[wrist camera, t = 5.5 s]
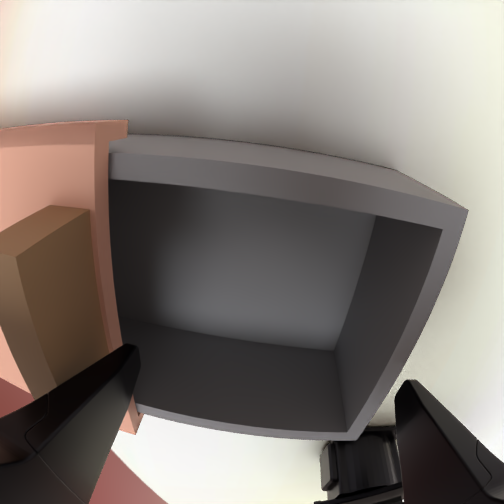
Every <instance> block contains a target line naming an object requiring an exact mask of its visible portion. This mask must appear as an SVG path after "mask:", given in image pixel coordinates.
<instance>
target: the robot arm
mask: <svg viewBox="0 0 504 504" xmlns="http://www.w3.org/2000/svg"><path fill="white" fill-rule="evenodd" d="M140 369H141V359H140V352H139V347H138V346H137V345H134V344H130V343H125V344H123V345H122V346H120V347H119V348H117V349H116V350H114V351H112V352H111V353H109V354H108V355H106V356H105V357H103V358H101V359H100V360H98V361H97V362H95V363H94V364H92V365H90V366H89V367H87V368H86V369H84V370H82V371H81V372H79V373H78V374H76V375H75V376H73V377H71V378H70V379H68V380H67V381H65V382H63V383H62V384H60V385H59V386H57V387H56V388H54V389H52V390H51V391H49V392H48V393H46V394H44V395H43V396H41V397H39V398H38V399H36V400H34V401H33V402H31V403H29V404H28V405H26V406H24V407H22V408H20V409H18V410H16V411H14V412H12V413H10V414H7V415H5V416H3V417H1V418H0V504H89V501H90V498H91V496H92V493H93V491H94V488H95V486H96V483H97V481H98V478H99V476H100V473H101V471H102V469H103V466H104V464H105V461H106V459H107V456H108V454H109V452H110V449H111V447H112V445H113V442H114V440H115V438H116V435H117V433H118V431H119V428H120V426H121V424H122V421H123V419H124V417H125V415H126V412H127V410H128V407H129V404H130V401H131V398H132V395H133V391H134V388H135V385H136V382H137V378H138V375H139V372H140ZM394 402H395V418H396V426H394V427H370V428H365V429H364V430H363V432H362V433H361V435H360V436H359V437H358V439H357V440H352V441H333V440H331V442H330V443H329V444H328V445H327V446H326V447H325V449H324V451H323V452H322V454H321V455H320V467H321V488H322V490H323V491H327V497H328V500H326V501H316V502H314V504H504V463H503V462H502V461H501V460H499V459H498V458H497V457H496V456H495V455H494V454H492V453H491V452H490V451H489V450H488V449H487V448H486V447H485V446H484V445H483V444H482V443H481V442H480V441H479V440H477V438H476V437H475V436H474V435H473V434H472V433H471V432H470V431H469V430H468V429H467V428H466V427H465V426H464V425H463V424H462V423H461V422H460V421H459V420H458V419H457V418H456V417H455V416H454V415H452V414H451V413H450V412H449V411H448V410H447V409H446V408H445V407H444V406H443V405H442V404H441V403H440V402H439V401H438V400H437V399H436V398H435V397H434V396H433V395H432V394H431V393H430V392H429V391H428V390H427V389H426V388H425V387H424V386H423V385H422V384H420V383H419V382H418V381H417V380H405V381H404V382H403V384H402V386H401V387H400V389H399V390H398V392H397V394H396V396H395V400H394ZM396 439H397V445H398V450H397V445H396V441H395V440H396ZM398 452H399V454H398ZM403 499H404V502H402V500H403Z"/></svg>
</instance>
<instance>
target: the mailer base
mask: <svg viewBox="0 0 504 504" xmlns="http://www.w3.org/2000/svg"><path fill="white" fill-rule="evenodd" d="M108 204H109V230H110V246H111V259H112V270H113V280H114V289H115V297H116V305H117V312H118V319H119V326H120V332H121V338H122V344H125V343H130V344H134V345H137V346H138V347H139V352H140V359H141V369H140V372H139V375H138V378H137V382H136V385H135V388H134V391H133V397H134V401H135V405H136V409H137V412H140V413H143V414H147V415H151V416H154V417H158V418H162V419H166V420H171V421H175V422H179V423H184V424H189V425H193V426H198V427H204V428H209V429H215V430H221V431H227V432H233V433H240V434H248V435H256V436H265V437H275V438H287V439H303V440H333V441H352V440H357V439H358V437H359V436H360V435H361V433H362V432H363V430H364V429H365V428H366V426H367V425H368V423H369V422H370V420H371V419H372V417H373V416H374V414H375V413H376V411H377V410H378V408H379V407H380V405H381V404H382V402H383V400H384V399H385V397H386V396H387V394H388V392H389V391H390V389H391V387H392V386H393V384H394V382H395V381H396V379H397V377H398V376H399V374H400V372H401V370H402V369H403V367H404V365H405V363H406V361H407V360H408V358H409V356H410V354H411V352H412V350H413V348H414V346H415V344H416V343H417V341H418V339H419V337H420V335H421V333H422V331H423V328H424V326H425V324H426V322H427V320H428V318H429V316H430V314H431V311H432V309H433V307H434V305H435V302H436V300H437V298H438V295H439V293H440V291H441V288H442V286H443V283H444V281H445V278H446V276H447V273H448V271H449V268H450V265H451V263H452V260H453V257H454V254H455V252H456V249H457V246H458V243H459V240H460V237H461V234H462V231H463V227H464V224H465V221H466V217H467V214H468V211H469V210H467V209H466V208H464V207H462V206H461V205H459V204H457V203H456V202H454V201H452V200H451V199H449V198H447V197H445V196H444V195H442V194H440V193H438V192H437V191H435V190H433V189H431V188H429V187H427V186H426V185H424V184H422V183H420V182H418V181H416V180H414V179H412V178H410V177H408V176H407V175H405V174H403V173H401V172H399V171H397V170H394V169H390V168H385V167H381V166H377V165H373V164H369V163H364V162H360V161H355V160H350V159H345V158H341V157H336V156H330V155H325V154H320V153H314V152H309V151H303V150H297V149H291V148H284V147H278V146H271V145H264V144H256V143H248V142H240V141H231V140H221V139H211V138H200V137H187V136H171V135H152V134H127V138H124V139H119V140H114V141H109V155H108Z"/></svg>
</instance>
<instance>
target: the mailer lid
mask: <svg viewBox="0 0 504 504" xmlns="http://www.w3.org/2000/svg"><path fill="white" fill-rule="evenodd" d="M127 131H128V120H92V121H71V122H57V123H45V124H34V125H25V126H17V127H9V128H2V129H0V377H1V378H3V379H4V380H6V381H8V382H10V383H12V384H14V385H15V386H17V387H19V388H21V389H23V390H25V391H27V392H29V393H31V394H32V396H33V398H34V400H36V399H38V398H39V397H41V396H43V395H44V394H46V393H48V392H49V391H51V390H52V389H54V388H56V387H57V386H59V385H60V384H62V383H63V382H65V381H67V380H68V379H70V378H71V377H73V376H75V375H76V374H78V373H79V372H81V371H82V370H84V369H86V368H87V367H89V366H90V365H92V364H94V363H95V362H97V361H98V360H100V359H101V358H103V357H105V356H106V355H108V354H109V353H111V352H112V351H114V350H116V349H117V348H119V347H120V346H122V345H123V344H122V338H121V332H120V326H119V319H118V312H117V305H116V297H115V289H114V280H113V270H112V259H111V246H110V230H109V204H108V155H109V141H114V140H119V139H124V138H127ZM143 415H144V414H143V413H140V412H137V409H136V405H135V401H134V397H133V395H132V398H131V401H130V404H129V407H128V410H127V412H126V415H125V417H124V419H123V421H122V424H121V426H120V428H119V430H121V431H124V432H127V433H131V434H134V435H136V433H137V430H138V428H139V425H140V423H141V420H142V418H143Z"/></svg>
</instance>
